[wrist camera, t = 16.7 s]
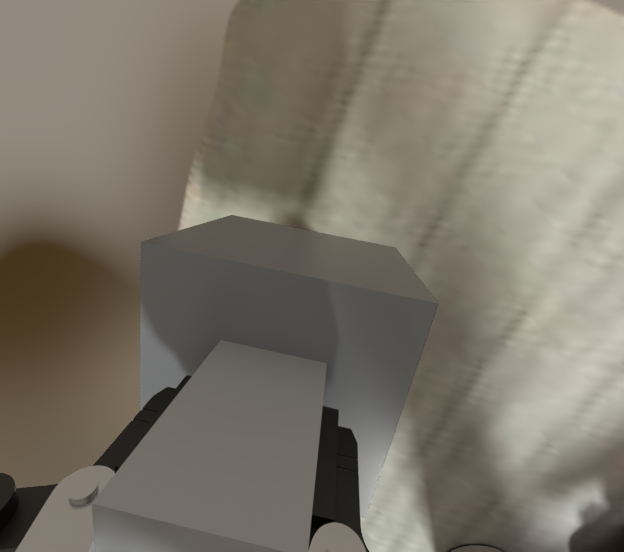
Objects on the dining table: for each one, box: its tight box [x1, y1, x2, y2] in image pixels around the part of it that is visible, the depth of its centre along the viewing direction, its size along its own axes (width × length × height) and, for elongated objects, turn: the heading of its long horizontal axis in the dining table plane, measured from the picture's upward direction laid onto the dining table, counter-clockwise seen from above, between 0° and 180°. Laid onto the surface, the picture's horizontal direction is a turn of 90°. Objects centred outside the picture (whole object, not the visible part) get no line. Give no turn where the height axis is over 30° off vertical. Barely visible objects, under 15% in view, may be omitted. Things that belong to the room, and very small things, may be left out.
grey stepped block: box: [92, 215, 438, 552], centre depth 13 cm, size 10×10×15 cm
